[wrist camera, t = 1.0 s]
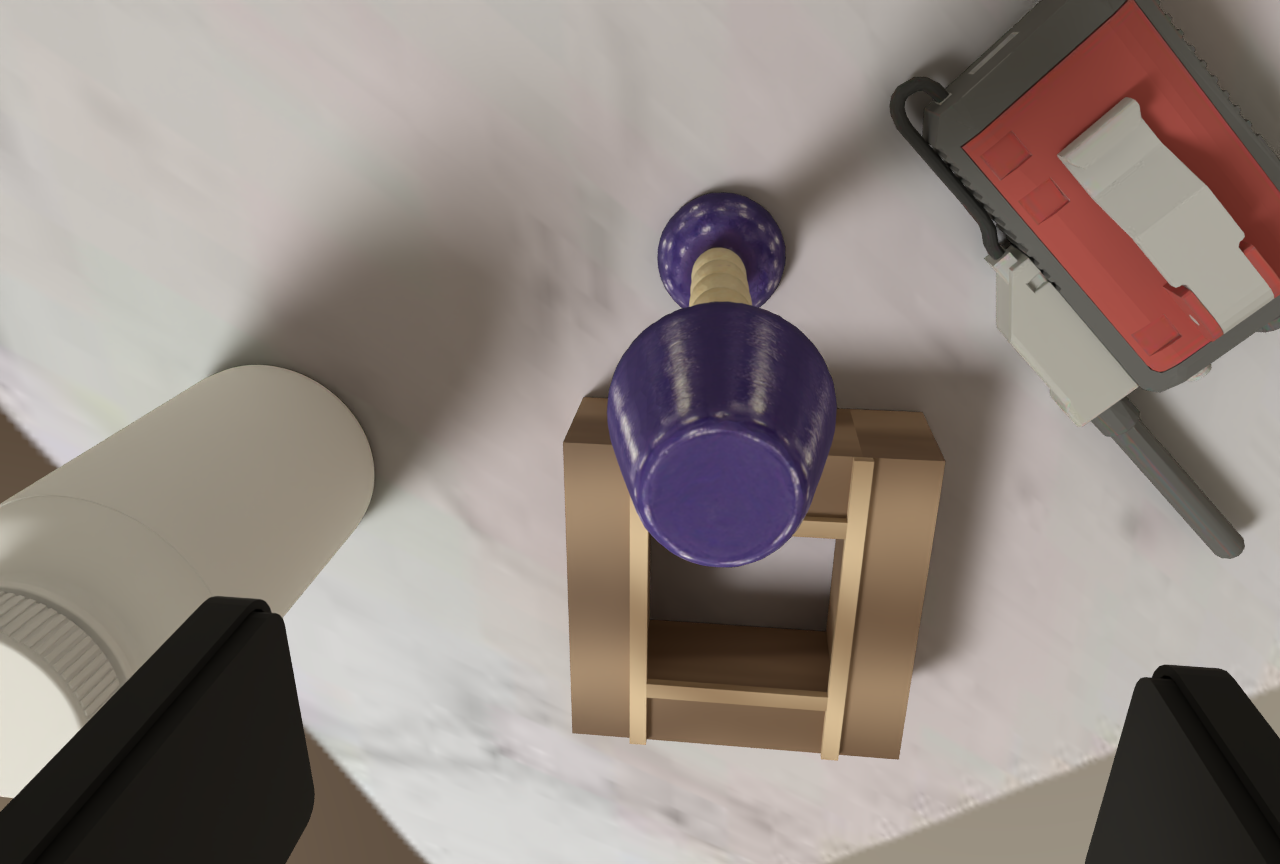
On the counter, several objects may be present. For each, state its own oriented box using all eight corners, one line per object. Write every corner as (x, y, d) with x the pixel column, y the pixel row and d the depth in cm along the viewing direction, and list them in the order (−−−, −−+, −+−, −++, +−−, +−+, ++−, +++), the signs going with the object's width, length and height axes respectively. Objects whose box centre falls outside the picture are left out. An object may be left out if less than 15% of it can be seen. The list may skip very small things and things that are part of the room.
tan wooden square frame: (583, 397, 33) (561, 446, 29) (922, 412, 31) (947, 465, 28) (589, 665, 37) (571, 738, 34) (883, 687, 36) (899, 765, 32)
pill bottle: (204, 323, 33) (-177, 524, 19) (406, 413, 34) (175, 669, 20) (164, 493, 36) (-187, 769, 23) (349, 573, 37) (116, 888, 23)
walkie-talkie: (827, 145, 29) (1189, 551, 33) (840, 163, 25) (1250, 622, 29) (1066, -81, 26) (1432, 399, 30) (1125, -103, 22) (1538, 456, 26)
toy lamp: (816, 210, 29) (893, 399, 14) (781, 344, 31) (814, 639, 16) (671, 179, 29) (591, 334, 14) (645, 315, 31) (549, 580, 16)
